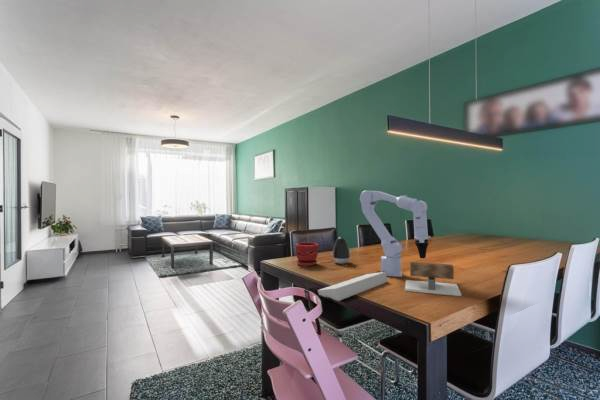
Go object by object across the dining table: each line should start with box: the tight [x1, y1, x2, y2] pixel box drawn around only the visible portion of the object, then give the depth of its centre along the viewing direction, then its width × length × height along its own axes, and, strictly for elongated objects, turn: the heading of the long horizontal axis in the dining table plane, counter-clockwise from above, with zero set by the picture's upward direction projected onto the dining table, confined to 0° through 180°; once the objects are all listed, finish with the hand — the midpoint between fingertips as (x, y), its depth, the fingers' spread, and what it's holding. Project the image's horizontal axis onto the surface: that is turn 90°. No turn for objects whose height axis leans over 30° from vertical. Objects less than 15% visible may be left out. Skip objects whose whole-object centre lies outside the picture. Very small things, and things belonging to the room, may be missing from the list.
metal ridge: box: [427, 277, 436, 290], centre depth 121 cm, size 2×10×4 cm, turn 159°
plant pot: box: [295, 242, 319, 267], centre depth 169 cm, size 13×13×12 cm
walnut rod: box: [409, 261, 455, 280], centre depth 121 cm, size 16×4×5 cm, turn 69°
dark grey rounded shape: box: [332, 236, 351, 265], centre depth 171 cm, size 10×10×15 cm
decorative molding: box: [317, 271, 388, 302], centre depth 124 cm, size 34×5×10 cm
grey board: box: [404, 279, 462, 297], centre depth 121 cm, size 20×13×1 cm, turn 69°
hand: (422, 256), depth 135 cm, fingers open, 7 cm apart
